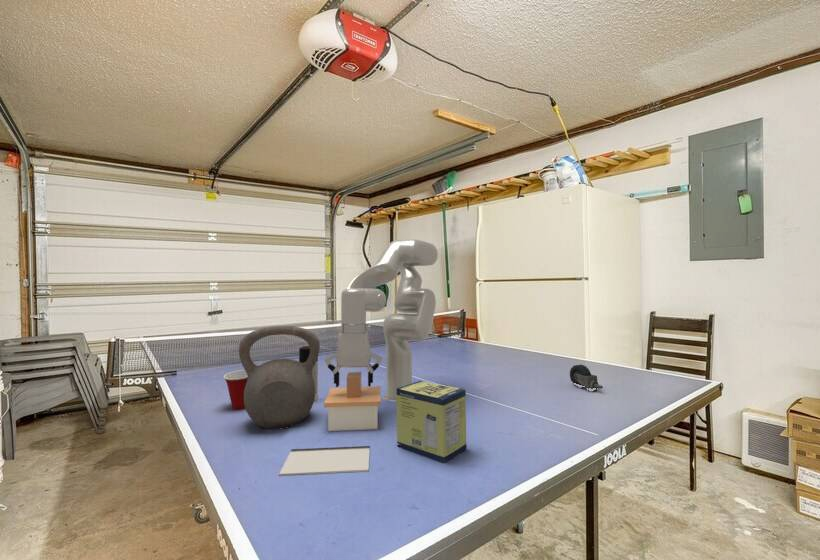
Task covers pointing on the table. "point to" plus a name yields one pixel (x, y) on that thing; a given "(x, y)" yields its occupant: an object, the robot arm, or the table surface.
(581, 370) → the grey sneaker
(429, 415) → the protein box
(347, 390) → the lid
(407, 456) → the table surface
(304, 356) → the spray can
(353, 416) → the bin
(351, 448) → the mat
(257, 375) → the kettlebell
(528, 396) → the table surface
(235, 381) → the plastic cup
